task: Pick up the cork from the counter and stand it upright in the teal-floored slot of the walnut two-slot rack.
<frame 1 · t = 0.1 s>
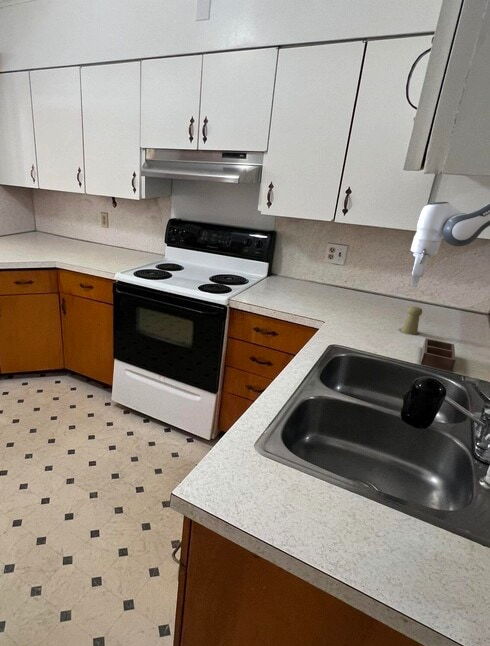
hand: (414, 284, 161), 22 cm above the worktop, tool pointing down, fingers open, 8 cm apart
cork: (408, 332, 176), on the worktop
rack: (435, 360, 150), on the worktop
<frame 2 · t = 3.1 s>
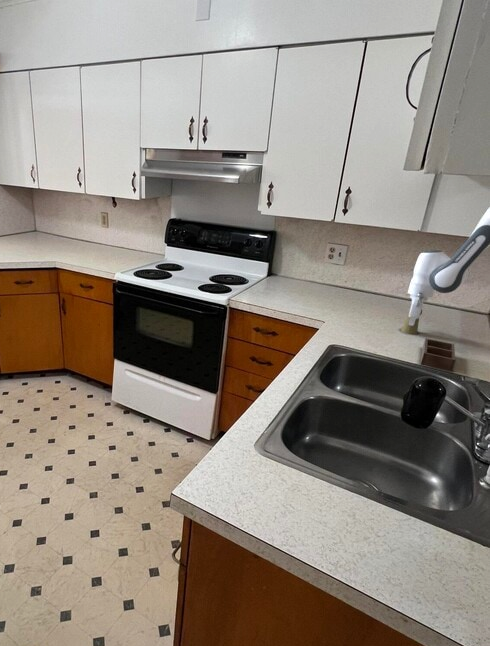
hand: (411, 323, 175), 4 cm above the worktop, tool pointing down, fingers closed on cork, 4 cm apart
cork: (408, 332, 176), on the worktop, touching gripper
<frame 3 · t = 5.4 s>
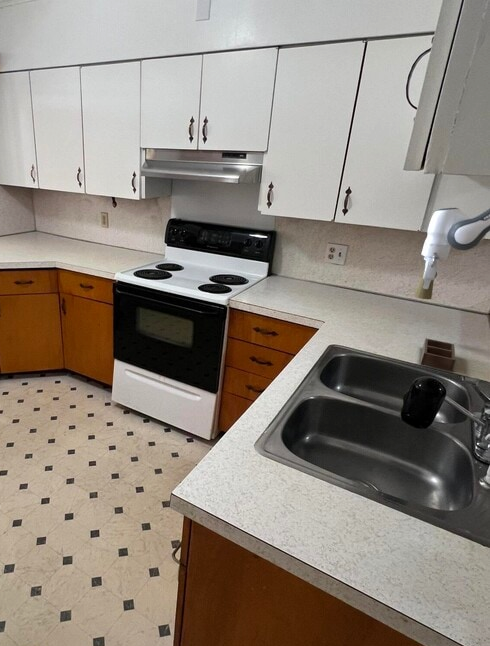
hand: (425, 287, 167), 20 cm above the worktop, tool pointing down, fingers closed on cork, 4 cm apart
cork: (422, 297, 168), point 16 cm above the worktop, touching gripper
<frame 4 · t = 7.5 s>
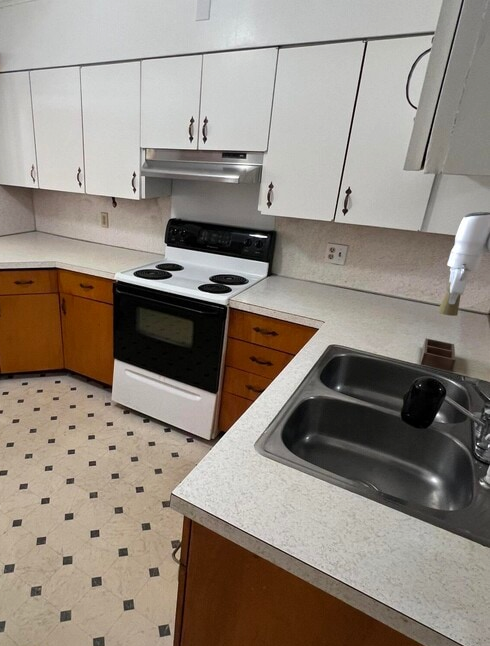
hand: (451, 301, 147), 20 cm above the worktop, tool pointing down, fingers closed on cork, 4 cm apart
cork: (447, 313, 149), point 16 cm above the worktop, touching gripper
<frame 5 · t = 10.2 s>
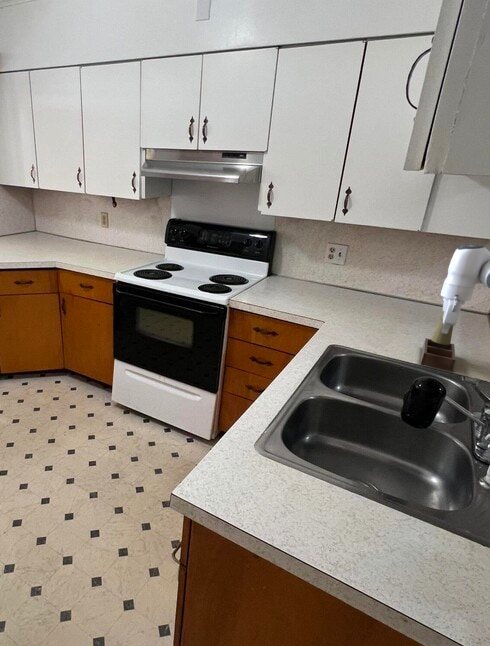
hand: (444, 330, 150), 10 cm above the worktop, tool pointing down, fingers closed on cork, 4 cm apart
cork: (440, 341, 151), point 6 cm above the worktop, touching gripper
when the fingers open (5 cm above the worktop, at t = 12.1 s): cork stays where it is, resting on rack.
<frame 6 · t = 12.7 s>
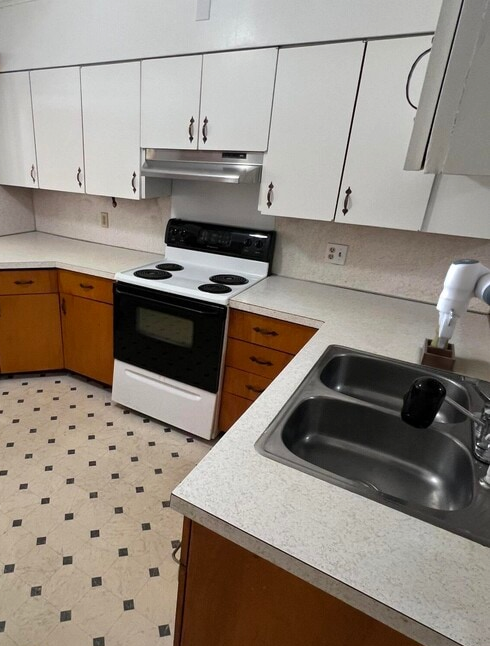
hand: (440, 343, 151), 5 cm above the worktop, tool pointing down, fingers open, 8 cm apart
cork: (436, 354, 153), point 1 cm above the worktop, touching rack
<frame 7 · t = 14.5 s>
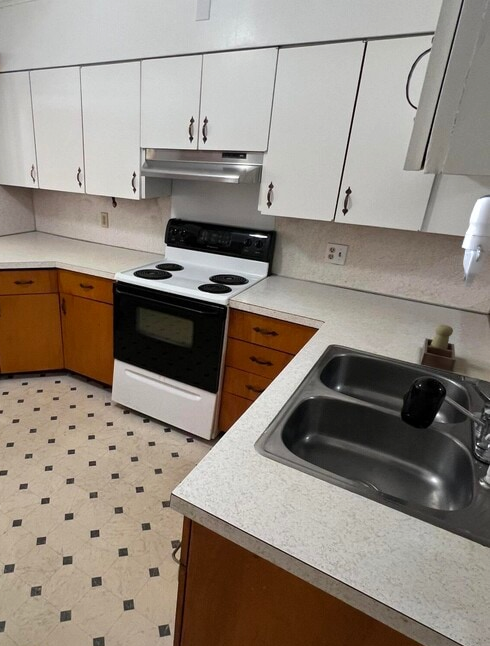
hand: (466, 284, 148), 26 cm above the worktop, tool pointing down, fingers open, 8 cm apart
nothing on the worktop moved.
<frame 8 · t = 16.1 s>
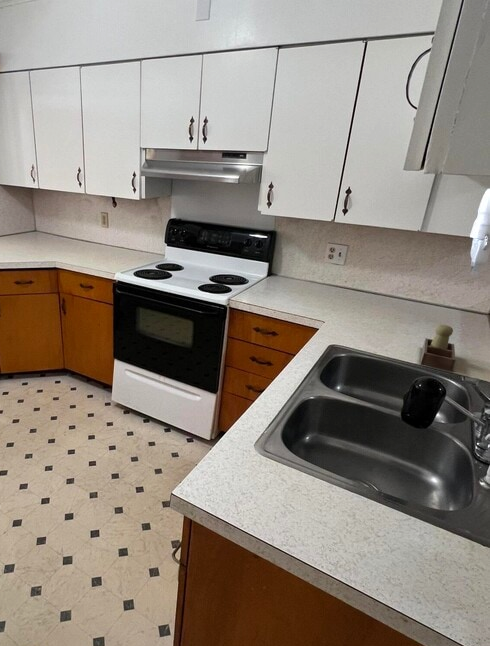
hand: (473, 273, 151), 29 cm above the worktop, tool pointing down, fingers open, 8 cm apart
nothing on the worktop moved.
at the end: cork 0.1 cm from the target spot in the rack, point 0.6 cm above the rack's base; cork tilted 0°; the gripper is holding nothing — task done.
